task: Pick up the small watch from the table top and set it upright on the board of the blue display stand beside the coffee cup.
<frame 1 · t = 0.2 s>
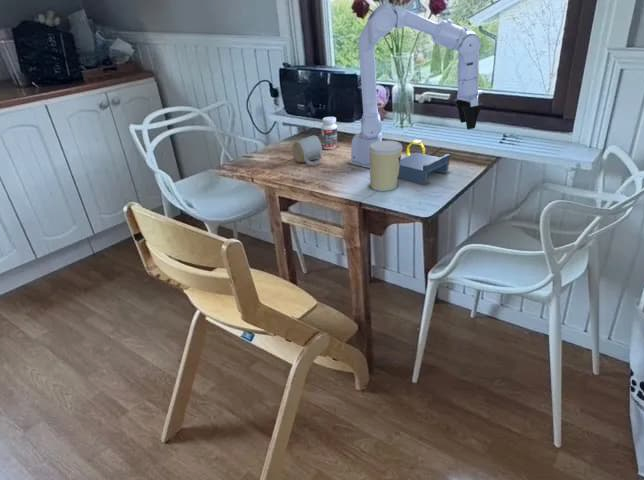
hand: (467, 125, 160), 11 cm above the table, tool pointing down, fingers open, 7 cm apart
pill bottle: (329, 147, 189), on the table
blue display stand: (419, 174, 160), on the table
coffee cup: (383, 186, 155), on the table
watch: (414, 160, 170), on the table
ceramic mug: (309, 161, 178), on the table
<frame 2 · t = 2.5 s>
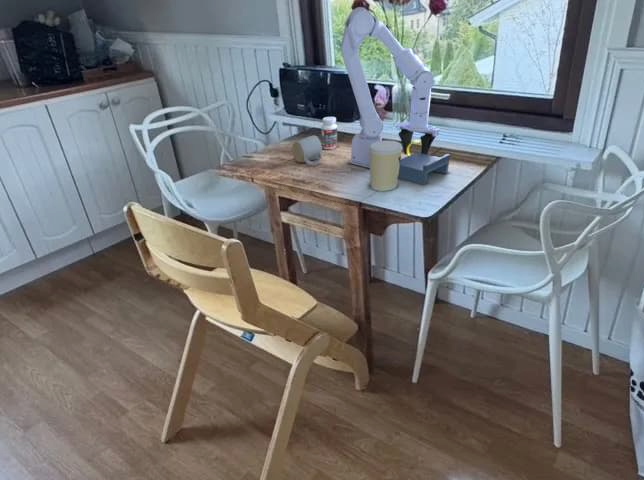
hand: (415, 155, 169), 1 cm above the table, tool pointing down, fingers closed on watch, 6 cm apart
watch: (414, 160, 170), on the table, touching gripper
everything else where it was.
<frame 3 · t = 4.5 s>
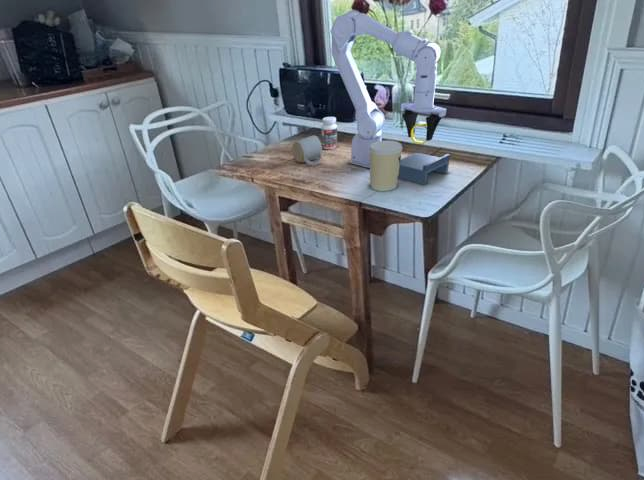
hand: (420, 138, 160), 9 cm above the table, tool pointing down, fingers closed on watch, 6 cm apart
watch: (419, 143, 161), point 7 cm above the table, touching gripper
everything else where it was.
when the fingers open (5 cm above the table, at t = 6.6 s): watch stays where it is, resting on blue display stand.
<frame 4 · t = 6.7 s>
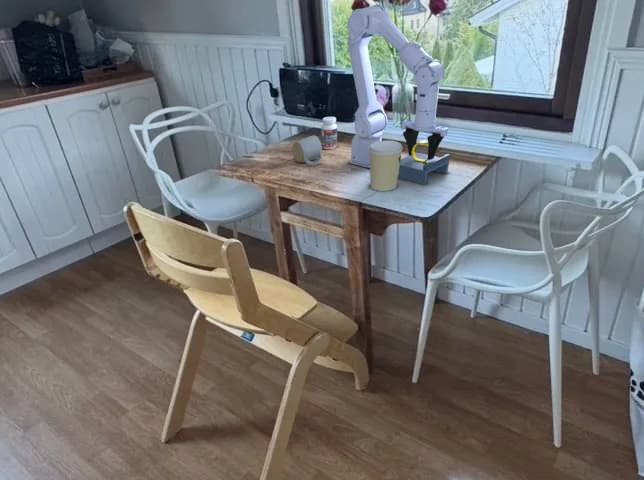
hand: (421, 156, 157), 5 cm above the table, tool pointing down, fingers open, 6 cm apart
watch: (420, 161, 158), point 4 cm above the table, touching blue display stand
everything else where it was.
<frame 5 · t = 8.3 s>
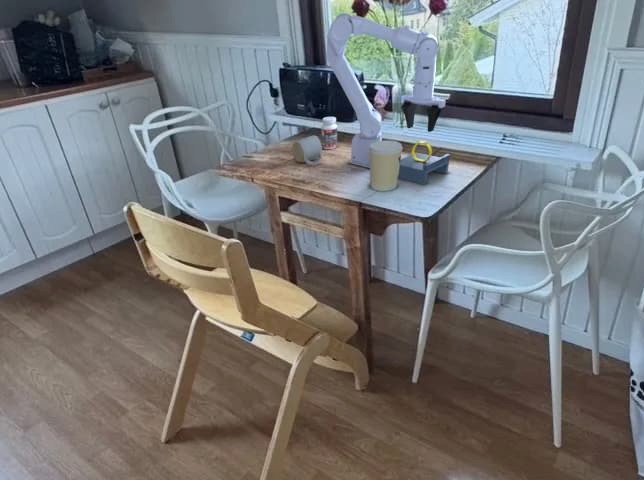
hand: (420, 129, 162), 10 cm above the table, tool pointing down, fingers open, 7 cm apart
nothing on the table moved.
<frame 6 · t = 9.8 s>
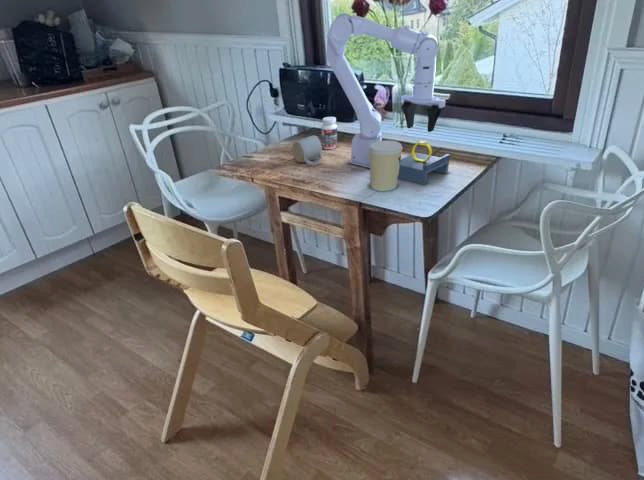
hand: (420, 129, 162), 10 cm above the table, tool pointing down, fingers open, 7 cm apart
nothing on the table moved.
at the end: watch inside the target area on the blue display stand (0.1 cm from its centre), point 3.8 cm above the blue display stand's base; watch tilted 0°; the gripper is holding nothing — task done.
